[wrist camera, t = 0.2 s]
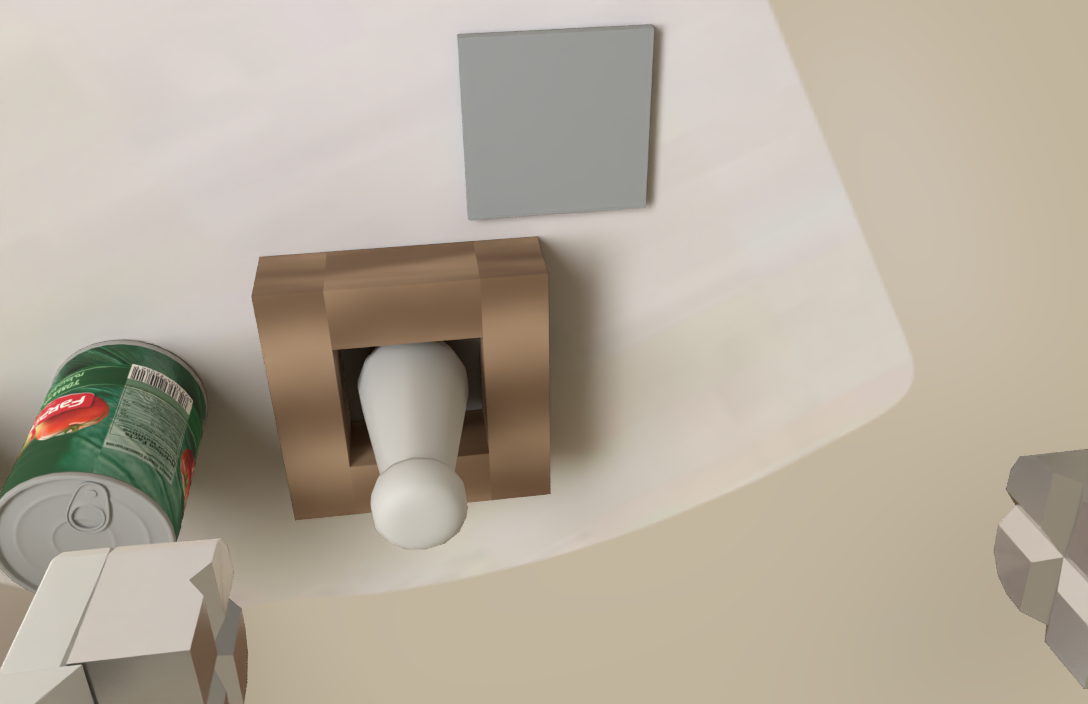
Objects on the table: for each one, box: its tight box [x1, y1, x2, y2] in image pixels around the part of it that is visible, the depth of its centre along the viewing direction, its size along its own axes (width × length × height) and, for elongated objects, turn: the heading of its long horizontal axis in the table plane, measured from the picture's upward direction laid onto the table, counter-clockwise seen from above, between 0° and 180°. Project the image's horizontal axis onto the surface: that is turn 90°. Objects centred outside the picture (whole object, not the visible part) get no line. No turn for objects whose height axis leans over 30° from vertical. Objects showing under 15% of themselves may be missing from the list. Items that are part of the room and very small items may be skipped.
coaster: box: [457, 25, 654, 220], centre depth 49 cm, size 9×9×1 cm
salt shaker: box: [357, 341, 469, 549], centre depth 50 cm, size 6×6×13 cm
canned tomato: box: [0, 340, 208, 594], centre depth 49 cm, size 8×8×11 cm
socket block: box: [252, 237, 550, 520], centre depth 53 cm, size 14×14×4 cm
